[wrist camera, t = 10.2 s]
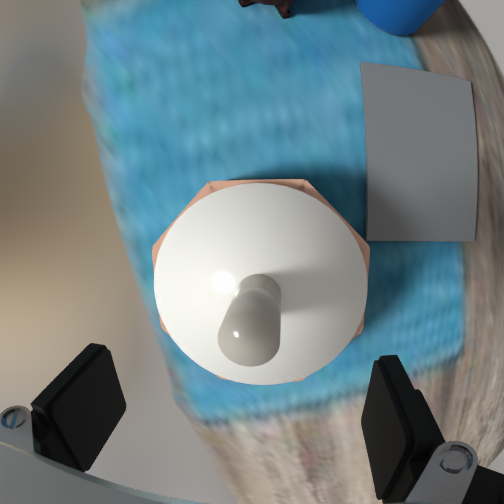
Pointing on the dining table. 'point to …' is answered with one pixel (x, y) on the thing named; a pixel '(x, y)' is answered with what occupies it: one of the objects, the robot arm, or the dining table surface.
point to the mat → (419, 155)
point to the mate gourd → (281, 3)
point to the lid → (260, 283)
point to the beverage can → (398, 14)
